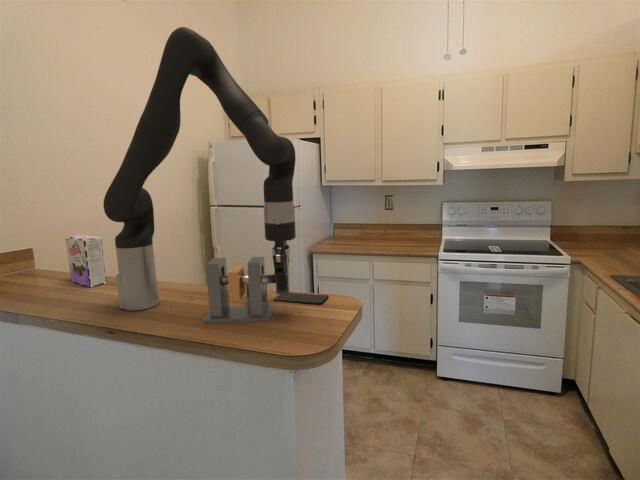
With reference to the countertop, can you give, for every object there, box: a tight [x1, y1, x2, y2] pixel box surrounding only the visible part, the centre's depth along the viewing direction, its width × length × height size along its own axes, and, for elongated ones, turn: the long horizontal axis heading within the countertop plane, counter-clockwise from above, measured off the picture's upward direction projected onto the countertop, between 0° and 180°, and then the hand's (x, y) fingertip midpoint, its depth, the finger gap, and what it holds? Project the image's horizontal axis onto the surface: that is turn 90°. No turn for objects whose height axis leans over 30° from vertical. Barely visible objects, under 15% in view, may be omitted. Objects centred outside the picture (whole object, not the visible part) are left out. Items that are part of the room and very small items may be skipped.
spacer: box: [227, 265, 247, 302], centre depth 96 cm, size 2×7×7 cm, turn 0°
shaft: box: [222, 265, 290, 295], centre depth 96 cm, size 18×3×7 cm, turn 90°
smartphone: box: [273, 292, 329, 306], centre depth 110 cm, size 7×1×15 cm
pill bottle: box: [245, 267, 268, 305], centre depth 107 cm, size 6×6×10 cm
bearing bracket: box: [202, 256, 274, 324], centre depth 97 cm, size 16×9×14 cm, turn 90°
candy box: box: [65, 234, 107, 288], centre depth 132 cm, size 14×6×16 cm, turn 55°
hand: (282, 287), depth 97 cm, fingers closed on shaft, 3 cm apart
